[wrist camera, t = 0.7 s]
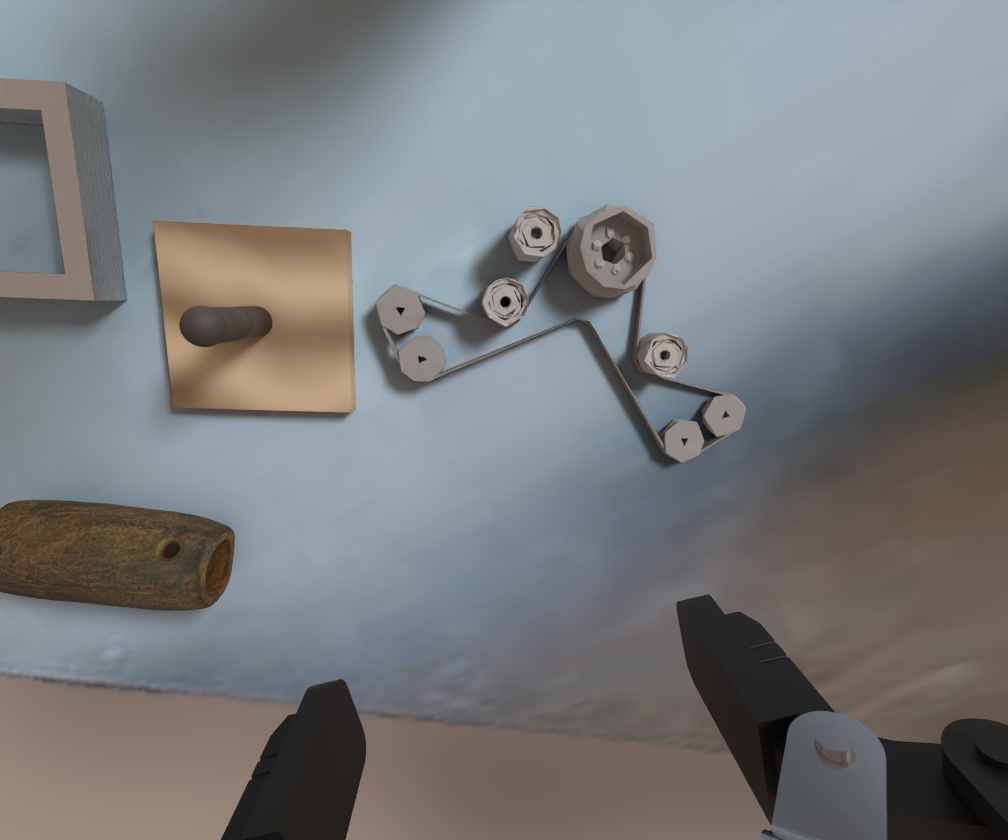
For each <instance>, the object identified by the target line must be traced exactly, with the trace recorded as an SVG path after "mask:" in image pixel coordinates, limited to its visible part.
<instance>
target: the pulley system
mask: <svg viewBox="0 0 1008 840" xmlns="http://www.w3.org/2000/svg"><path fill="white" fill-rule="evenodd" d="M532 232H533V233H534V234H536V235H537V239H535V238H533V237H532V236H531V233H532ZM560 236H561V228H560V224H559V219H558V217H556V216H555V215H553V214H552V213H550V212H549V211H547V210H546V209H543V208H538V207H532V206H529V207H528V208H527V209H526V210H525V211H524V212H523V213H522V214H521V215H520V217H519V218H518V219H517V220H516V222H515V224H514V225H513V228H512V230H511V233H510V235H509V241H510V245H511V248H512V250H513V252H514V253H515V255H516V257H517V260H518V261H528V262H537V261H539V260H540V259H542V258H544V257H546V256H547V255H548V254H550V253H551V252H552V251H554V250H555V249H556V248H557V246H558V242H559V239H560ZM567 242H568V243H567ZM605 243H606V244H607V245H608V246H609V247H610V248H611V249H612V250H613V251H614V252H615V254H616V256H615V257H614V258H613V260H612V261H611V263H610V262H607V261H604V260H603V258H602V249H601V247H602V245H604V244H605ZM566 244H567V245H566ZM565 246H566V252H567V260H568V264H567V269H568V270H569V274H570V275H571V276H572V277H573V278H574V280H575V281H577V282H578V283H579V284H580V285H581V286H582V288H583V289H586V290H587V291H588V292H589V293H590V294H591V295H592V296H593V297H606V298H617V297H619V296H621V295H623V294H626V293H628V292H630V291H633V290H636V289H637V287H638V286H639V285H640V283H641V287H640V295H639V303H638V311H637V319H636V328H635V336H634V344H633V352H632V360H633V362H634V364H635V366H636V368H637V370H638V372H639V373H643V374H646V375H650V376H654V377H657V378H661V379H665V380H669V381H672V382H676V383H680V384H683V385H687V386H691V387H695V388H698V389H702V390H706V391H709V392H713V393H717V394H721V395H718V396H716V397H714V398H711V399H709V400H708V401H707V403H706V404H705V406H704V407H703V408H702V423H703V424H704V426H705V427H706V428H707V429H708V430H709V431H710V432H712V433H713V434H714V435H715V436H716V437H714V438H713V439H711V440H709V441H708V442H706V443H704V439H703V436H702V433H701V430H700V428H699V425H698V423H697V422H694V421H687V420H681V419H678V420H672V421H671V422H670V423H669V425H668V426H667V427H666V429H665V430H664V431H661V432H660V433H659V435H658V434H657V432H656V430H655V429H654V427H653V425H652V424H651V422H650V421H649V419H648V417H647V416H646V414H645V412H644V411H643V409H642V407H641V406H640V404H639V402H638V401H637V399H636V397H635V396H634V394H633V392H632V391H631V389H630V387H629V386H628V384H627V382H626V381H625V379H624V377H623V376H622V374H621V372H620V371H619V369H618V367H617V366H616V364H615V362H614V361H613V359H612V358H611V356H610V354H609V353H608V351H607V349H606V348H605V346H604V344H603V343H602V341H601V339H600V338H599V336H598V334H597V333H596V331H595V329H594V328H593V326H592V324H591V323H590V321H586V320H581V319H577V318H575V319H572V320H570V321H567V322H565V323H562V324H560V325H557V326H555V327H552V328H550V329H547V330H545V331H542V332H540V333H537V334H535V335H532V336H530V337H527V338H525V339H522V340H520V341H517V342H515V343H512V344H510V345H507V346H505V347H502V348H500V349H497V350H495V351H492V352H490V353H488V354H485V355H483V356H480V357H478V358H475V359H473V360H470V361H468V362H465V363H463V364H460V365H458V366H455V367H453V368H450V369H448V370H445V371H443V372H441V371H442V369H443V368H444V366H445V356H444V351H443V348H442V347H441V346H440V345H439V344H438V343H437V342H435V341H434V340H433V339H432V338H431V337H430V336H425V337H415V338H413V339H411V340H410V341H409V342H408V343H407V344H406V345H405V346H404V347H403V348H402V349H401V350H400V351H399V352H398V350H397V348H396V346H395V344H394V342H393V340H392V337H391V335H390V333H389V331H392V332H394V333H396V334H401V333H404V332H407V331H411V330H415V329H418V327H419V325H420V323H421V321H422V319H423V317H424V315H425V311H424V308H423V306H422V303H421V300H420V297H423V298H426V299H428V300H431V301H434V302H436V303H439V304H442V305H444V306H447V307H449V308H452V309H455V310H457V311H460V312H463V313H465V314H468V315H471V316H473V317H476V318H479V319H481V320H484V321H487V322H489V323H492V324H495V325H497V326H500V327H503V328H505V327H508V326H510V325H513V324H516V323H517V322H518V321H519V320H520V319H521V318H522V317H523V316H524V315H525V313H526V310H527V307H528V306H529V304H530V303H531V301H532V299H533V298H534V296H535V294H536V293H537V291H538V290H539V288H540V286H541V285H542V283H543V281H544V280H545V278H546V277H547V275H548V273H549V272H550V270H551V268H552V267H553V265H554V263H555V262H556V260H557V259H558V257H559V255H560V254H561V252H562V250H563V249H564V247H565ZM655 259H656V247H655V234H654V224H653V223H651V222H650V221H648V220H647V219H645V218H643V217H642V216H640V215H639V214H638V213H637V212H635V211H632V210H630V209H628V208H627V207H625V206H624V207H616V206H612V205H608V204H607V205H605V206H603V207H602V208H600V209H598V210H596V211H595V212H593V213H591V214H589V215H587V216H584V217H582V218H580V219H579V221H577V222H576V225H575V228H574V230H573V231H572V233H571V234H570V236H569V237H568V239H567V241H566V242H565V244H564V245H563V247H562V249H561V250H560V252H559V253H558V255H557V256H556V258H555V259H554V261H553V263H552V264H551V266H550V267H549V269H548V270H547V272H546V274H545V275H544V277H543V278H542V280H541V282H540V283H539V285H538V286H537V288H536V290H535V291H534V293H533V294H532V296H531V298H530V299H528V297H527V294H526V290H525V289H524V287H523V285H522V284H520V283H519V282H517V281H515V280H513V279H510V278H502V279H498V280H496V281H494V282H493V283H491V284H490V285H489V286H488V287H487V288H486V290H485V291H484V293H483V296H482V301H481V305H482V309H483V312H484V314H485V315H486V317H487V318H488V319H489V320H491V321H489V320H487V319H484V318H481V317H479V316H476V315H473V314H471V313H468V312H465V311H463V310H460V309H457V308H455V307H452V306H449V305H447V304H444V303H441V302H439V301H436V300H433V299H431V298H428V297H426V296H423V295H420V294H418V293H417V292H414V291H412V290H410V289H408V288H405V287H400V286H397V285H393V286H392V287H391V288H390V289H388V290H387V291H386V292H385V293H384V294H382V295H381V296H380V297H379V299H378V300H377V301H376V309H377V316H378V318H379V321H380V323H381V325H382V328H383V330H384V332H385V334H386V336H387V339H388V341H389V343H390V345H391V348H392V350H393V352H394V354H395V356H396V359H397V361H398V363H399V365H400V368H401V372H402V373H404V374H405V375H406V376H407V377H408V378H410V379H411V380H412V381H418V382H430V381H432V380H433V379H435V378H438V377H440V376H443V375H445V374H447V373H450V372H452V371H455V370H457V369H459V368H462V367H464V366H466V365H469V364H471V363H474V362H476V361H478V360H481V359H483V358H486V357H488V356H490V355H493V354H495V353H498V352H500V351H502V350H505V349H507V348H509V347H512V346H514V345H517V344H519V343H522V342H524V341H527V340H529V339H532V338H534V337H537V336H539V335H541V334H544V333H546V332H549V331H551V330H554V329H556V328H559V327H561V326H564V325H566V324H569V323H571V322H574V321H576V320H580V321H582V322H583V323H585V324H587V325H589V326H590V328H591V330H592V331H593V333H594V335H595V337H596V338H597V340H598V342H599V344H600V345H601V347H602V349H603V351H604V352H605V354H606V356H607V357H608V359H609V361H610V363H611V364H612V366H613V368H614V370H615V371H616V373H617V375H618V377H619V378H620V380H621V382H622V383H623V385H624V387H625V389H626V390H627V392H628V394H629V396H630V397H631V399H632V401H633V403H634V404H635V406H636V408H637V409H638V411H639V413H640V415H641V416H642V418H643V420H644V422H645V423H646V425H647V427H648V428H649V430H650V432H651V434H652V435H653V437H654V439H655V441H656V442H657V444H658V446H659V448H660V450H661V451H662V452H663V453H664V454H665V455H667V456H668V457H670V458H672V459H675V460H677V461H679V462H681V463H682V462H685V461H688V460H690V459H692V458H695V457H697V456H699V454H700V453H702V452H703V451H705V450H707V449H708V448H710V447H711V446H713V445H714V444H716V443H718V442H719V441H721V440H722V439H724V438H725V437H727V436H729V435H730V434H732V433H733V432H735V431H738V430H740V427H741V425H742V422H743V419H744V416H745V412H746V407H745V406H744V405H743V403H742V402H741V401H740V400H739V399H738V398H737V397H736V396H734V395H732V394H727V393H723V392H719V391H715V390H711V389H707V388H703V387H699V386H695V385H691V384H687V383H683V382H680V381H676V380H672V379H668V378H664V377H674V378H675V377H676V375H677V374H678V373H679V371H680V370H681V368H682V367H683V366H684V364H685V363H686V361H687V349H688V347H687V345H686V344H685V342H684V341H683V339H681V338H679V337H677V336H676V335H673V334H669V333H649V334H648V335H646V336H644V337H642V338H641V339H640V340H639V336H640V327H641V318H642V308H643V299H644V290H645V281H646V278H647V276H648V274H649V272H650V270H651V268H652V266H653V264H654V261H655ZM419 296H420V297H419ZM502 297H505V298H506V299H507V300H508V305H507V307H502V306H501V304H500V300H501V299H502ZM400 308H404V311H403V313H399V312H398V310H399V309H400ZM492 321H493V322H492ZM515 321H516V322H515ZM388 329H389V331H388ZM419 356H420V357H424V358H427V359H426V360H425V361H423V362H420V358H419ZM660 376H664V377H660ZM703 443H704V444H703Z"/></svg>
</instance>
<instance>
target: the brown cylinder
mask: <svg viewBox="0 0 1008 840" xmlns="http://www.w3.org/2000/svg"><path fill="white" fill-rule="evenodd" d="M234 540H235V537H234V533H233V530H232V529H231V528H230V527H228V526H226V525H223V524H221V523H219V522H216V521H213V520H210V519H206V518H203V517H200V516H196V515H191V514H185V513H179V512H173V511H161V510H153V509H145V508H137V507H129V506H121V505H113V504H101V503H86V502H74V501H57V500H54V501H52V500H26V501H17V502H12V503H9V504H6V505H5V506H4V507H2V508H1V509H0V592H3V593H8V594H13V595H19V596H27V597H32V598H39V599H49V600H59V601H72V602H81V603H93V604H101V605H109V606H121V607H132V608H141V609H152V610H177V611H179V610H195V609H203V608H207V607H209V606H211V605H213V604H214V603H215V602H216V601H217V600H218V599H219V598H220V597H221V595H222V594H223V592H224V590H225V589H226V587H227V585H228V582H229V579H230V576H231V571H232V564H233V555H234Z"/></svg>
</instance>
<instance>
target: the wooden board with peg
mask: <svg viewBox="0 0 1008 840" xmlns="http://www.w3.org/2000/svg"><path fill="white" fill-rule="evenodd" d="M153 223H154V232H155V242H156V251H157V260H158V270H159V279H160V289H161V298H162V307H163V317H164V326H165V335H166V345H167V354H168V364H169V373H170V382H171V392H172V401H173V408H208V409H243V410H279V411H314V412H349V413H351V412H353V411H354V410H355V371H354V333H353V295H352V257H351V232H349V231H347V230H336V229H314V228H293V227H271V226H249V225H227V224H205V223H184V222H162V221H153Z"/></svg>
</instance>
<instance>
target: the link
mask: <svg viewBox="0 0 1008 840" xmlns="http://www.w3.org/2000/svg"><path fill="white" fill-rule="evenodd" d="M0 123H12V124H30V125H43V126H44V133H45V140H46V147H47V153H48V160H49V167H50V174H51V181H52V188H53V195H54V201H55V208H56V215H57V222H58V229H59V236H60V243H61V249H62V256H63V263H64V270H65V274H46V273H21V272H0V297H13V298H39V299H66V300H92V301H127V299H126V291H125V283H124V275H123V266H122V258H121V250H120V242H119V233H118V225H117V217H116V209H115V200H114V192H113V184H112V176H111V168H110V159H109V151H108V143H107V135H106V126H105V118H104V110H103V102H102V101H100V100H98V99H96V98H94V97H92V96H90V95H88V94H86V93H84V92H82V91H81V90H79V89H77V88H75V87H73V86H71V85H69V84H67V83H65V82H53V81H36V80H19V79H2V78H0Z"/></svg>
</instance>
